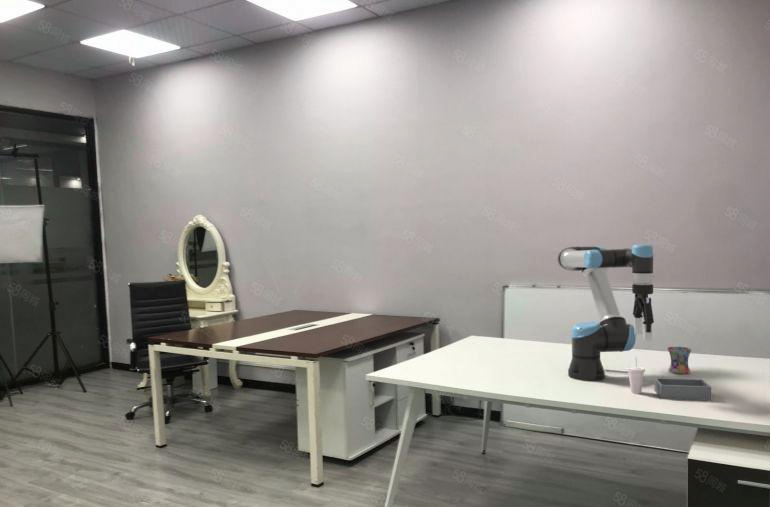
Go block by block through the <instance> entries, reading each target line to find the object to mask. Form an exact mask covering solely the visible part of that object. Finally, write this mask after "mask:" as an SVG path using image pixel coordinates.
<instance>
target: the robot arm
mask: <svg viewBox="0 0 770 507" xmlns="http://www.w3.org/2000/svg"><path fill="white" fill-rule="evenodd" d="M557 262H558V265H559V267H561V268H562V269H564V270H566V271H571V272H577V271H579V272H580V271H581V273H582V276H583V277H584V278H586V279H587V282H588V285H589V288H590V290H591V294H592V298H593V301H594V304H595V307H596V310H597V313H598V316H599V320H600V321H599V322H597V321H585V322H584V321H583V322H579V323H575V324H574V325H573V326H572V328H571V360H570V364H569V366H568V369H567V376H568V377H570V378H571V379H574V380H580V381H601V380H604V379H605V378H606V373H605V370H604V366H603V363H602V359H601V353H610V352H611V353H613V352H614V353H615V352H616V353H617V352H618V353H619V352H620V353H622V352H629V351H631V350H633V348H634V346H635V344H636V339H637V338H636V337H637V335H643V341H644V342H645V341H646V342H648V341H649V342H652V341H653V324H654V323H655V321H654V314H653V306H652V298H651V297H649V295H653V294H654V285H653V283H654V278H655V274H654V248H653V246H652V244H633V245H632V246H631V248H629V247H628V248H617V249H615V248H614V249H612V248H611V249H606V248H605V247H603V246H599V245H598V246H597V245H591V246H589V245H588V246H569V247H565V248H564V249H562V250H561V251H560V252H559V253H558V254H557ZM609 268H611V269H612V268H613V269H614V268H632V269H631V270H632V271H631V283H632V285H631V287H632V288H631V289H632V290H631V292H632V294H634V302H633V303H634V305H633V310H632V315H633V318H634V326H633V324H631V323H627V321H626V318H625V317H624V316H621V314H620V311H619V308H618V305H617V301H616V298H615V296H614V293H613V290H612V287H611V283H610V280H609V278H608V274H607V272H608V271H609Z"/></svg>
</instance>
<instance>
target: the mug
mask: <svg viewBox="0 0 770 507" xmlns="http://www.w3.org/2000/svg"><path fill="white" fill-rule="evenodd" d="M667 351H668V353H669V356H670V365H669V368H668V371H669V372H671V373H673V374H675V375H676V374H678V375H687V374H690V373H691V369H690V368H689V358H690V354H691V352H692V349H691V348H690V347H689V348H688V347H685V346H684V347H683V346H669V347H667Z"/></svg>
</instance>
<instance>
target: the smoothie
mask: <svg viewBox="0 0 770 507" xmlns="http://www.w3.org/2000/svg"><path fill="white" fill-rule="evenodd" d="M634 360H635V361H634V363H635V364H634V365H630V366H627V369H626V370H627V371H628V378H629V379H628V380H629V386H630V387H629V388H630V393H632V394H637V395H640V394H642V392H643V390H642V389H643V382H644V375H645V372H646V369H645V367H643V366H638V357H635V359H634Z"/></svg>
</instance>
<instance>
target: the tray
mask: <svg viewBox="0 0 770 507" xmlns="http://www.w3.org/2000/svg"><path fill="white" fill-rule="evenodd" d="M653 381H654V392H655V394H657V395H658V397H659V398H660V399H667V400H668V399H669V400H670V399H671V400H673V399H674V400H693V401H694V400H695V401H696V400H697V401H712V386H710V384H708V383H707V382H706V381H705V380H704V379H699V378H698V379H691V378H662V377H655V378H654V380H653Z"/></svg>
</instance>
